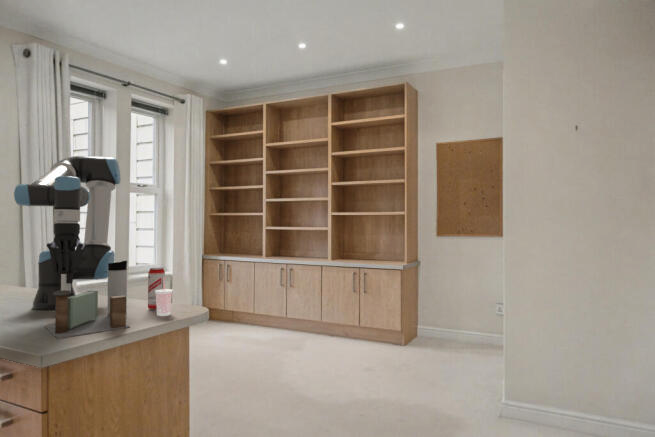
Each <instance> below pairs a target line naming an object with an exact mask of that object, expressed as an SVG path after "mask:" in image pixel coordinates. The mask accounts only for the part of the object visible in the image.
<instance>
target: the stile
mask: <svg viewBox="0 0 655 437" xmlns="http://www.w3.org/2000/svg"><path fill="white" fill-rule="evenodd" d="M126 311H127V310H126V296H114V297H110V327H111V328H119V327H125V326H126V325H127V313H126Z"/></svg>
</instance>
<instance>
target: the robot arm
mask: <svg viewBox="0 0 655 437" xmlns="http://www.w3.org/2000/svg"><path fill="white" fill-rule="evenodd" d="M120 172H121V171H120V166H119V163H118V160H117V159H116V158H114V157H110V156H109V157H107V156H90V155H89V156H87V155H86V156H85V155H76V156H75V155H74V156H70V157H67V158H64V159H63V158H62V159H61V160H59V161H57V162H55V163H54V164H52V165H51V167H50V169H49V171H48V172H46V173H44V174H43V175H42V176H40V177H39V178H38V179H36V180H35V181H34V182H32V183H29V184H27V183H24V184H17V185H16V186H15V188H14V192H13V197H14V202H15V203H16V204H17V205H18V206H21V207H23V206H25V207H53V208H54V209H53V221H54V224H53V234H54V238H53V241H51V242H50V243H49V242H48V243H47V244H46V247H47V249H48V250H42V251H41V252H40V253H39V255H38V262H37V265H38V279H37V280H38V286H37V287H38V288H37V291H36V294H35V295H34V298H33V300H32V301H33V302H32V309H33V310H40V311H41V310H42V311H43V310H45V311H46V310H56V295H53V293H54V292H55V291H64V290H68V291H70V294H68V297H71V296H74V295H76V292H75V290H74V286H73V281H74V280H75V281H77V280H80V281H81V280H103V279H104V280H105V279H108V263H115V260H116V259H115V257H116V254H115V251H114V250H111V249H112V247H111V246H110V245H109V244H108V237H109V236H108V235H109V225H110V224H109V223H110V213H111V212H110V211H111V201H112V200H111V198H112V192H113V191H114V190H115V189H116V185H119V184H121V173H120ZM81 183H82V184H85V186H86V188H87V189H86V188H85V187H84V186H82V184H81ZM85 206H87V208H86V209H87V210H86V218H85V230H84V240H83V241H84V242H82V241H81V239H80V233H81V231H80V230H81V225H80V223H79V222H81V208H83V207H85Z"/></svg>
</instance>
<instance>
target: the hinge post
mask: <svg viewBox="0 0 655 437" xmlns="http://www.w3.org/2000/svg"><path fill="white" fill-rule="evenodd" d="M68 294H70V291H68V290H64V291H55V292H54V293H53V295H56V309H55V323H54V324H55V333H57V334H61V333H66V332H68Z"/></svg>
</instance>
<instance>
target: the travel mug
mask: <svg viewBox="0 0 655 437" xmlns="http://www.w3.org/2000/svg"><path fill="white" fill-rule="evenodd" d="M127 266H128V260H122V261H117V262H115V261H114V263H108V278H107V317H109V316H110V297H114V296H126V314H127V308H128V306H127V304H128V302H127V301H128V300H127V297H128V293H127V292H128V291H127V290H128V268H127Z"/></svg>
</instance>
